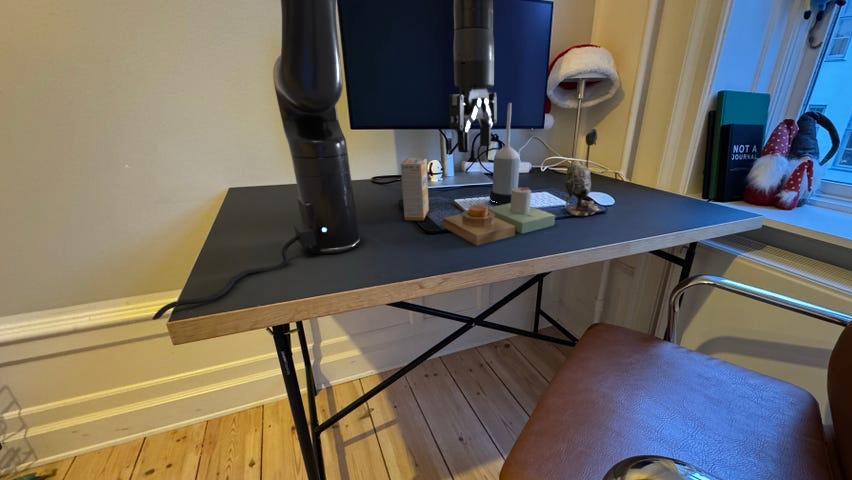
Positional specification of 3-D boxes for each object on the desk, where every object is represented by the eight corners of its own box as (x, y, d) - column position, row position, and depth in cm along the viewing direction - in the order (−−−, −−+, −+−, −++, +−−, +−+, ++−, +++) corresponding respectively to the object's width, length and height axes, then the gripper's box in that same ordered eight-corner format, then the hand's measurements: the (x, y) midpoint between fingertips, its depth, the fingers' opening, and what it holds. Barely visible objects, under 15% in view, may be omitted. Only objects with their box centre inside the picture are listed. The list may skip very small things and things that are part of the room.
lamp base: (476, 245, 73) (476, 226, 71) (443, 227, 82) (442, 209, 80) (514, 235, 78) (515, 217, 76) (479, 219, 88) (479, 203, 86)
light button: (476, 219, 76) (476, 211, 75) (465, 214, 79) (465, 206, 78) (491, 216, 78) (491, 208, 77) (480, 211, 81) (480, 204, 80)
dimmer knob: (519, 215, 83) (520, 192, 80) (506, 210, 86) (507, 187, 84) (533, 212, 85) (535, 189, 83) (520, 207, 88) (522, 185, 86)
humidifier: (522, 200, 103) (529, 103, 92) (515, 208, 96) (522, 104, 85) (494, 197, 105) (498, 102, 94) (486, 205, 98) (488, 102, 87)
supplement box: (424, 221, 86) (421, 163, 80) (404, 220, 86) (399, 163, 80) (429, 210, 93) (427, 157, 87) (410, 210, 93) (407, 156, 87)
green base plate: (521, 233, 79) (522, 222, 78) (485, 217, 89) (486, 207, 87) (554, 225, 85) (555, 214, 83) (517, 211, 94) (517, 201, 93)
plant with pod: (552, 209, 96) (561, 128, 87) (588, 206, 99) (601, 127, 90) (569, 219, 89) (580, 131, 80) (607, 215, 92) (623, 130, 83)
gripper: (476, 61, 76) (477, 143, 83) (434, 58, 65) (439, 152, 72) (509, 60, 72) (506, 145, 80) (470, 56, 61) (472, 156, 69)
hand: (474, 148), depth 76 cm, fingers open, 8 cm apart
